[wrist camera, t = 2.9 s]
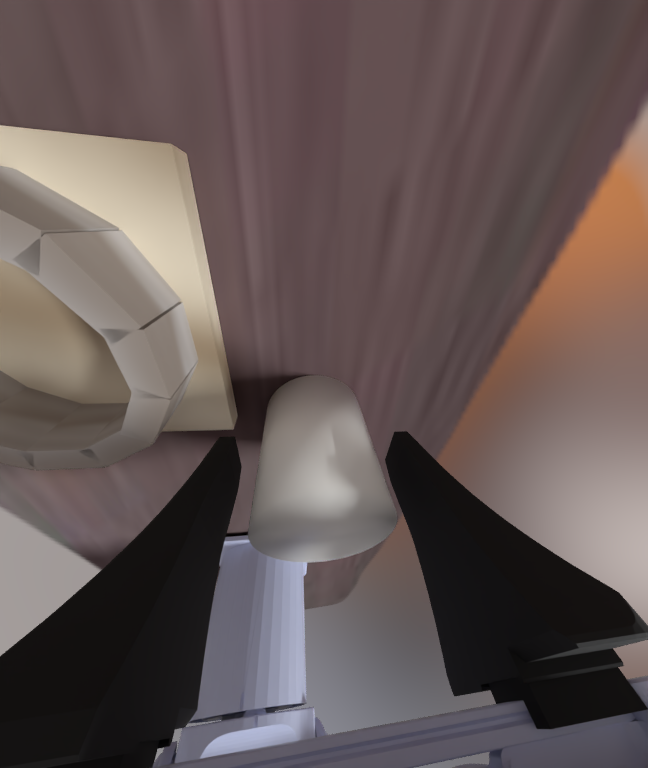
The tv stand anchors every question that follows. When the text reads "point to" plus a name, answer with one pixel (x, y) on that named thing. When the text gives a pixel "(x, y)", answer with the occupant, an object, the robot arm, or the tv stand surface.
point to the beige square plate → (102, 301)
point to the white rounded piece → (318, 476)
